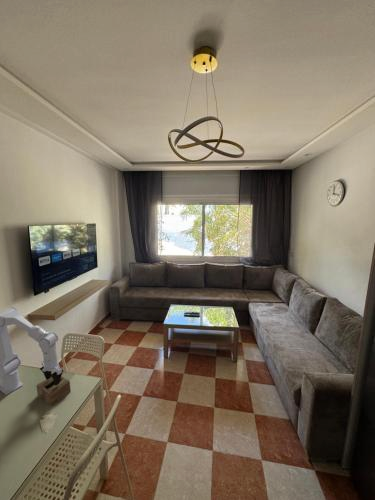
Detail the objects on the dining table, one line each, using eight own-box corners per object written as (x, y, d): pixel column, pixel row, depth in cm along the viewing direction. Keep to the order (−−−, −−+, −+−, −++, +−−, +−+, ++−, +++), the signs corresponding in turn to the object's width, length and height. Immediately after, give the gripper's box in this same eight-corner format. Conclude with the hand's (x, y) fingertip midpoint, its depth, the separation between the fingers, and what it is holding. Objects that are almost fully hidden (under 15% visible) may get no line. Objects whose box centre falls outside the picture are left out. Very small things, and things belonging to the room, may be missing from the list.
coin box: (37, 395, 115) (36, 385, 114) (57, 382, 123) (56, 373, 122) (51, 405, 109) (50, 394, 108) (70, 391, 118) (69, 381, 116)
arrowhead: (57, 408, 105) (56, 428, 97) (57, 411, 106) (56, 432, 97) (40, 414, 102) (37, 436, 94) (40, 417, 103) (38, 439, 94)
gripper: (33, 357, 113) (36, 381, 115) (50, 367, 106) (53, 392, 108) (48, 349, 119) (50, 372, 121) (64, 358, 112) (67, 382, 114)
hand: (53, 381), depth 115 cm, fingers open, 7 cm apart
